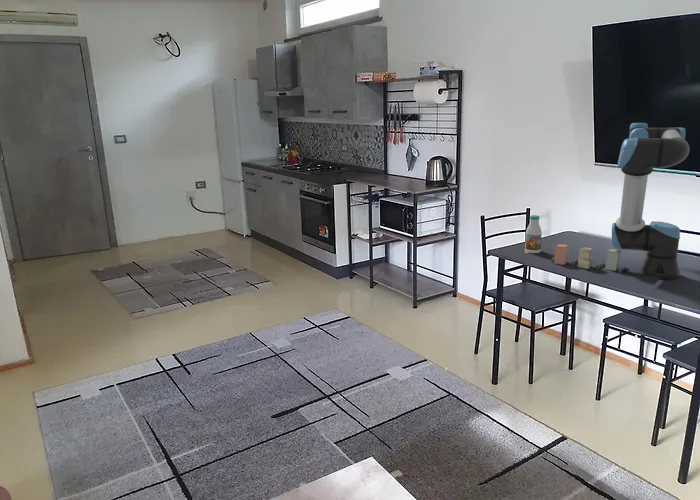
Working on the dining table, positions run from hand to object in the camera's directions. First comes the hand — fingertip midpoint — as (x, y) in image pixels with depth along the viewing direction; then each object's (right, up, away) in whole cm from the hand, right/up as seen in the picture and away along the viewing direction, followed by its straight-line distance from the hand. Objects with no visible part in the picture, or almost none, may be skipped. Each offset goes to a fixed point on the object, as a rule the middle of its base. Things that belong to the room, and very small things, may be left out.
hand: (630, 204), depth 267 cm
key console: (-27, -31, -12) cm, 43 cm away
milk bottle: (-44, -25, +14) cm, 52 cm away
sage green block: (-19, -31, -19) cm, 41 cm away
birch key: (-29, -31, -15) cm, 45 cm away
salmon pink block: (-38, -29, -8) cm, 48 cm away
